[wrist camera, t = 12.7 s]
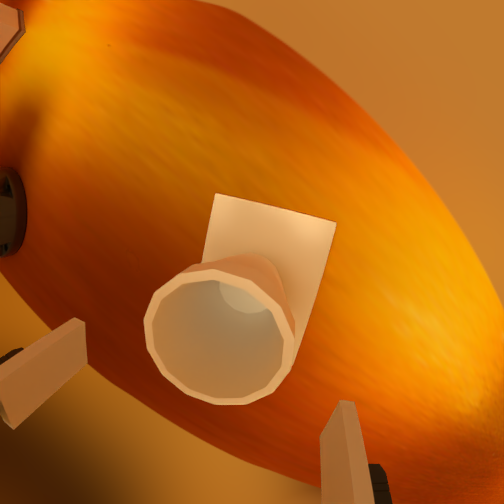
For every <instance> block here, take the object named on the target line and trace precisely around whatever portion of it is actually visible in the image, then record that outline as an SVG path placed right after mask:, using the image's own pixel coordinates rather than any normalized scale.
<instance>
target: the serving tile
mask: <svg viewBox="0 0 504 504" xmlns="http://www.w3.org/2000/svg"><path fill="white" fill-rule="evenodd" d="M336 225H337V223H336V222H335V221H331V220H327V219H323V218H320V217H316V216H312V215H308V214H304V213H300V212H297V211H293V210H289V209H285V208H281V207H276V206H272V205H268V204H264V203H260V202H256V201H251V200H247V199H243V198H238V197H234V196H229V195H225V194H220V193H215V197H214V202H213V207H212V212H211V216H210V221H209V226H208V231H207V236H206V241H205V247H204V252H203V257H202V262H201V263H206V262H212V261H216V260H220V259H223V258H226V257H229V256H233V255H237V254H243V253H249V252H252V253H255V254H258V255H262V256H265V257H266V258H267V259H268V260H269V261H270V262H272V263H273V264H274V265H275V266H276V268H277V271H278V273H279V276H280V278H281V281H282V284H283V288H284V292H285V296H286V300H287V303H288V305H289V308H290V310H291V312H292V315H293V317H294V320H295V340H294V349H293V357H292V366H293V363H294V361H295V358H296V355H297V352H298V349H299V346H300V344H301V341H302V338H303V335H304V332H305V329H306V326H307V323H308V320H309V317H310V314H311V311H312V308H313V304H314V301H315V298H316V295H317V292H318V288H319V285H320V282H321V278H322V275H323V272H324V268H325V265H326V261H327V258H328V254H329V251H330V247H331V243H332V240H333V236H334V232H335V228H336Z"/></svg>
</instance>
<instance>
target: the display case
mask: <svg viewBox="0 0 504 504" xmlns="http://www.w3.org/2000/svg"><path fill="white" fill-rule="evenodd" d="M24 33H25V25H24V17H23V11H22V10H20V9H18V8H17V9H16V10H15V9H13V8H11V7H9V6H6V5H4V4H2V3H0V64H1V62H2V61H3V60H4V58H5V57H6V56H7V54H8V53H9V52H10V50H11V49H12V48H13V46H14V45H15V44H16V43H17V41H18V40H19V39H20V38H21V37H22V35H23V34H24Z"/></svg>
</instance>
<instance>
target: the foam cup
mask: <svg viewBox="0 0 504 504" xmlns="http://www.w3.org/2000/svg"><path fill="white" fill-rule="evenodd" d="M144 329H145V337H146V346H147V349H148V351H149V353H150V355H151V357H152V358H153V360H154V362H155V363H156V365H157V367H158V369H159V370H160V372H161V374H162V375H163V376H164V377H166V378H167V379H168V380H169V381H170V382H172V383H173V384H174V385H175V386H177V387H178V388H179V389H180V390H182V391H183V392H184V393H185V394H187V395H190V396H192V397H195V398H198V399H200V400H203V401H206V402H209V403H212V404H215V405H245V404H248V403H251V402H253V401H255V400H258V399H260V398H262V397H264V396H266V395H269V394H271V393H273V392H274V391H275V389H276V388H277V387H278V386H279V384H280V383H281V382H282V381H283V379H284V378H285V377H286V375H287V374H288V373H289V372H290V370H291V365H292V357H293V349H294V340H295V320H294V317H293V315H292V312H291V310H290V308H289V305H288V303H287V300H286V296H285V292H284V288H283V284H282V281H281V278H280V276H279V273H278V271H277V268H276V266H275V265H274V264H273V263H272V262H270V261H269V260H268V259H267V258H266V257H265V256H262V255H258V254H255V253H252V252H249V253H243V254H237V255H233V256H229V257H226V258H223V259H220V260H216V261H212V262H206V263H199V264H193V265H191V266H190V267H188V268H187V269H185V270H184V271H182V272H181V273H179V274H178V275H177V276H175V277H174V278H173V279H171V280H170V281H169V282H167V283H166V284H165V285H163V286H162V287H161V288H160V289H158V290H157V291H156V292H154V294H153V297H152V299H151V302H150V304H149V307H148V309H147V312H146V314H145V317H144Z"/></svg>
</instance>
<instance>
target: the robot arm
mask: <svg viewBox="0 0 504 504" xmlns="http://www.w3.org/2000/svg"><path fill="white" fill-rule="evenodd" d="M26 216H27V211H26V198H25V192H24V188H23V184H22V182H21V179H20V177H19V175H18V174H17V172H16V171H15V170H13V169H12V168H9V167H0V258H2V257H6V256H10V255H13V254H15V253H16V252H17V251H18V249H19V248H20V246H21V244H22V241H23V238H24V234H25V228H26ZM86 364H87V351H86V335H85V322H83V321H81V320H79V319H77V318H75V317H74V318H72V319H71V320H69V321H68V322H66V323H64V324H63V325H61V326H60V327H58V328H57V329H55V330H53V331H52V332H50V333H49V334H47V335H45V336H44V337H43V338H41V339H39V340H38V341H36V342H35V343H33V344H32V345H30V346H29V347H27V348H25V349H23V348H18V349H14V350H12V351H10V352H9V353H7V354H6V355H5V356H2V357H1V358H0V414H1V416H2V419H3V421H4V422H5V423H7V424H8V425H9V426H10V427H11V428H12V429H13V430H14V429H15V428H16V427H17V426H18V425H19V424H20V423H21V422H23V420H25V419H26V418H27V417H28V416H29V415H30V414H31V413H32V412H34V411H35V410H36V409H37V408H38V407H39V406H40V405H41V404H42V403H43V402H45V401H46V400H47V399H48V398H49V397H50V396H51V395H52V394H53V393H54V392H55V391H57V390H58V389H59V388H60V387H61V386H62V385H64V384H65V383H66V382H67V381H68V380H69V379H70V378H71V377H72V376H74V375H75V374H76V373H77V372H78V371H79V370H81V369H82V368H83V367H84V366H85V365H86ZM320 456H321V486H322V504H392V499H391V494H390V492H389V485H388V484H387V483H388V481H387V476H386V473H385V471H384V470H383V468H382V467H381V465H380V464H368V462H367V457H366V452H365V447H364V442H363V437H362V433H361V428H360V423H359V419H358V415H357V410H356V406H355V402H352V401H345V400H340V401H339V402H338V404H337V406H336V408H335V410H334V412H333V414H332V416H331V417H330V419H329V421H328V423H327V425H326V426H325V428H324V430H323V432H322V433H321V435H320Z"/></svg>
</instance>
